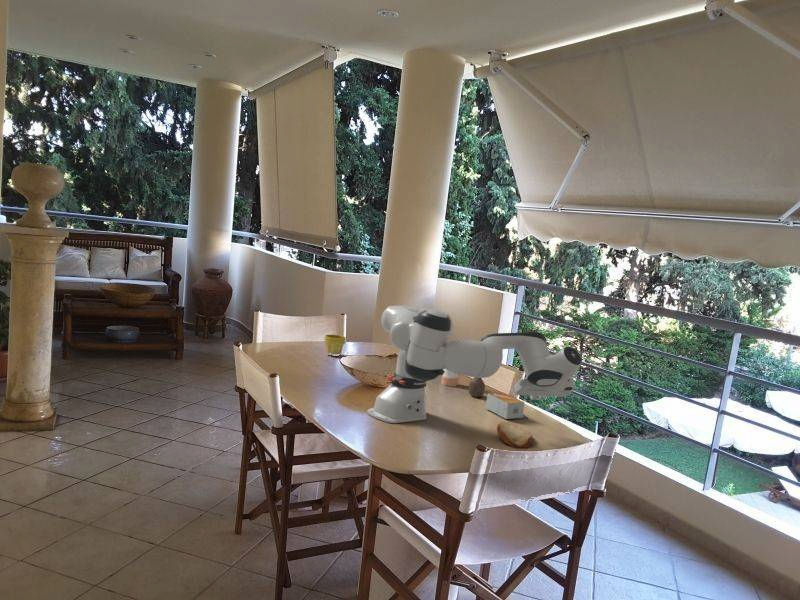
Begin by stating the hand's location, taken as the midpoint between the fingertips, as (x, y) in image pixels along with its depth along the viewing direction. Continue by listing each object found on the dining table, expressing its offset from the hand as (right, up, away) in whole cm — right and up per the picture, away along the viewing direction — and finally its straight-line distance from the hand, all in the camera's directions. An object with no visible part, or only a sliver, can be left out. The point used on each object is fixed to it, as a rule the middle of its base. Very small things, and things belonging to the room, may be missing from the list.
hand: (533, 398), depth 212 cm
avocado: (-16, -6, +38) cm, 41 cm away
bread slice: (-10, -12, -9) cm, 18 cm away
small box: (-4, -6, +10) cm, 13 cm away
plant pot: (-81, +7, +85) cm, 118 cm away
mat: (-6, -9, +19) cm, 22 cm away
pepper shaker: (-26, -3, +53) cm, 59 cm away
